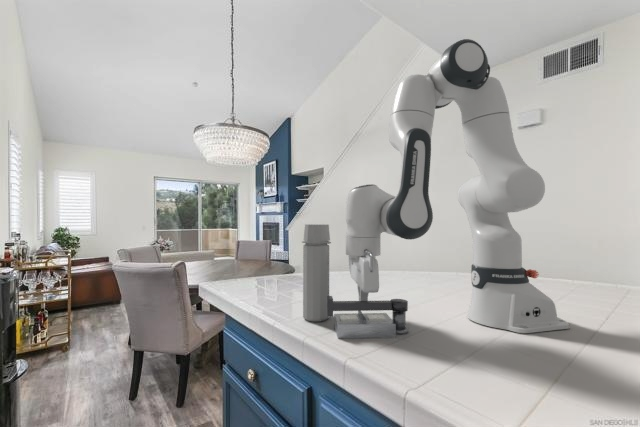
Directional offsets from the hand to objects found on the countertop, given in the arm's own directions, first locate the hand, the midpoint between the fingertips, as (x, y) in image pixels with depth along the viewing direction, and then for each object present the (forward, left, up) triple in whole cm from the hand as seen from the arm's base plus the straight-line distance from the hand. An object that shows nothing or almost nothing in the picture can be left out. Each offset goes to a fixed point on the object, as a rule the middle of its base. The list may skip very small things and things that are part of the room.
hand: (363, 302), depth 77 cm
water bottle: (+12, -5, -5) cm, 14 cm away
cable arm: (0, +6, -1) cm, 6 cm away
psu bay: (+1, +6, -5) cm, 8 cm away
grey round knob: (-7, +6, -5) cm, 11 cm away
